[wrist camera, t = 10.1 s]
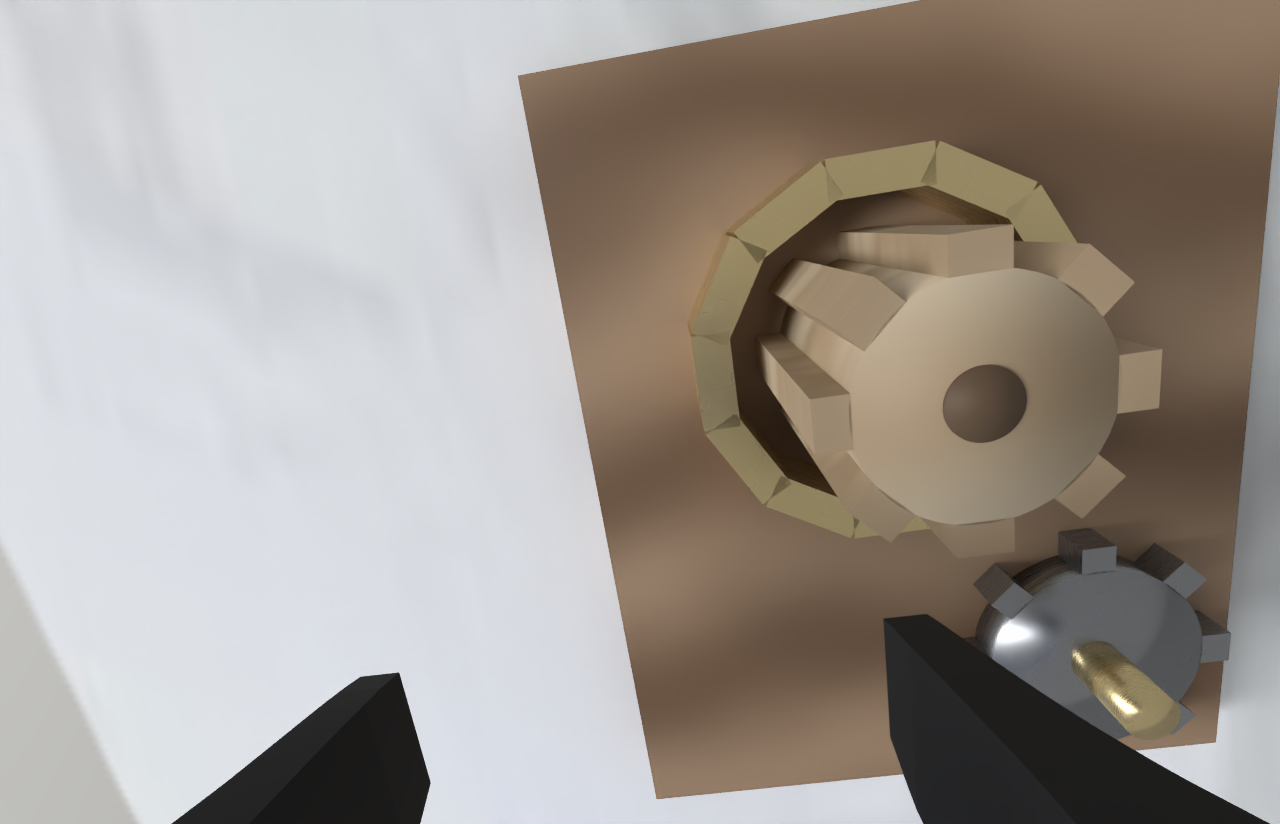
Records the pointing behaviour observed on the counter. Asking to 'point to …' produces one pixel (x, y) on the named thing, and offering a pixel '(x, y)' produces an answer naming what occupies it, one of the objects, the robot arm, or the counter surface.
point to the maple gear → (956, 377)
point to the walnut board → (761, 162)
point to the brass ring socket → (907, 170)
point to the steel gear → (1102, 633)
